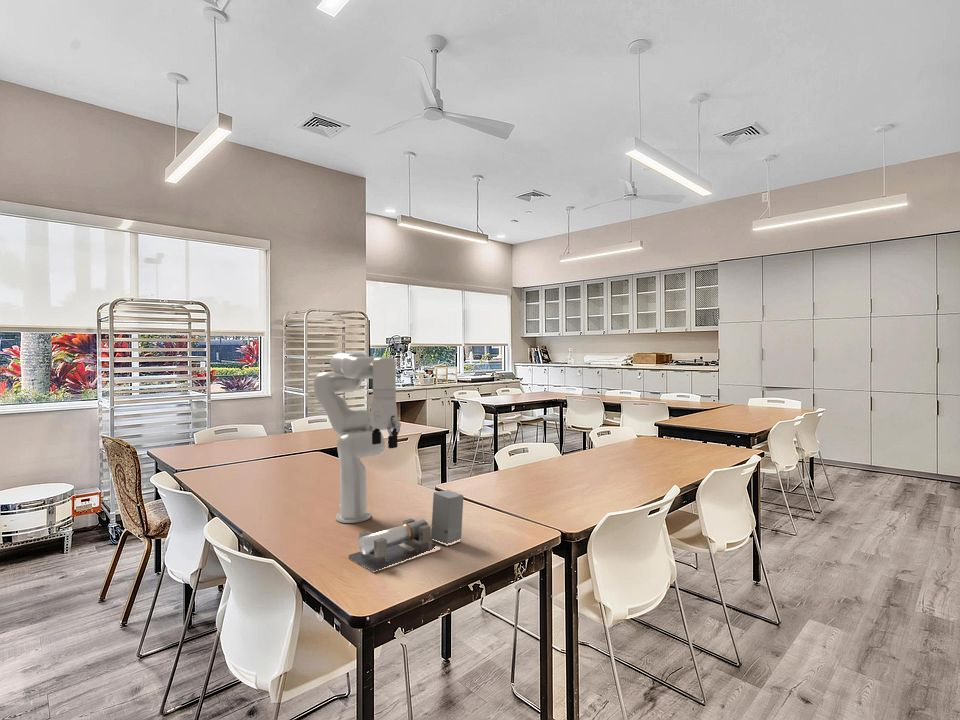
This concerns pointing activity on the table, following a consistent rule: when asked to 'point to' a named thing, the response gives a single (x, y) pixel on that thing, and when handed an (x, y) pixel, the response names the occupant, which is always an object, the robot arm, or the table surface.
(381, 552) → the plate with corner blocks
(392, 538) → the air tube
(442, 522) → the skincare box
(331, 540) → the table surface
